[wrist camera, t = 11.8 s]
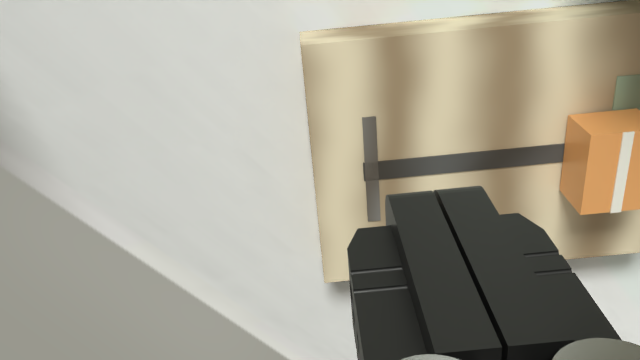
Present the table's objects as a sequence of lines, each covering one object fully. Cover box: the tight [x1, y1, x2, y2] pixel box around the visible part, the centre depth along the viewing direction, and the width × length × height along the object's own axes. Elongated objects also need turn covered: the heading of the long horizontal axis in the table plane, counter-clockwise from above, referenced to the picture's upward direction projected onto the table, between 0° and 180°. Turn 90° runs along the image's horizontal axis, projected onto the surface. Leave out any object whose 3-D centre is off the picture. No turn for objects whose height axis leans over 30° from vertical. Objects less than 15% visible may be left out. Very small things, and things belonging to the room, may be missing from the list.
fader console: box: [300, 0, 640, 283], centre depth 38 cm, size 22×16×3 cm
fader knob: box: [560, 108, 640, 215], centre depth 35 cm, size 4×5×3 cm
